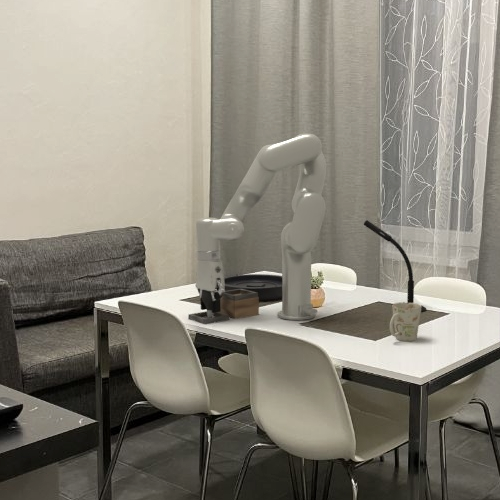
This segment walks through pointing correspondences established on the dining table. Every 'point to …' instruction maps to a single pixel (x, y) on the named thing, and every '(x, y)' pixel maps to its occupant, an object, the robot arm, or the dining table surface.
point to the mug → (405, 321)
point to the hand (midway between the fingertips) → (210, 310)
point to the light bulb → (208, 302)
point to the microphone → (387, 237)
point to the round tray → (257, 285)
